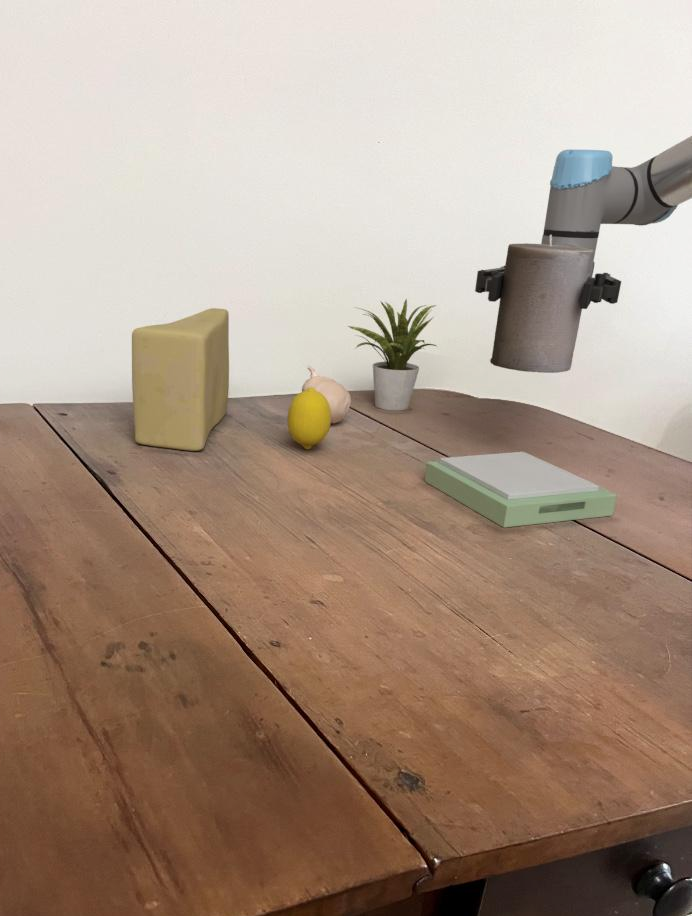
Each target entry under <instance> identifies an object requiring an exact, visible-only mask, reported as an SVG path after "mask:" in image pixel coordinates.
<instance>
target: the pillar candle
mask: <svg viewBox="0 0 692 916" xmlns="http://www.w3.org/2000/svg"><path fill="white" fill-rule="evenodd" d="M551 237H552V235H550V236H549V238H550V243H549V245H547V244H541V243H527V242H525V243H510V244H509V243H508V247H507V253H506V259H505V264H504V266H505V270H504V277H503V284H502V289H501V296H500V299H499V303H498V312H497V318H496V325H495V332H494V339H493V345H492V352H491V358H490V359H489V362H490V364H491V365H493V366H495V367H498V368H502V369H507V370H512V371H519V372H527V373H543V374H545V373H546V374H551V373H552V374H555V373H556V374H557V373H565V372H569V371H570V370H571V368H572V364H573V357H574V351H575V347H576V342H577V338H578V333H579V329H580V321H581V316H582V313H583V309H580V304H581V299H582V293H583V288H584V283H585V282H586V281H587V280H588V275H589V269H590V264H591V259H592V253H593V252H594V251H593V250H590V249H585V248H580V247H571V246H560V245H551V244H552V243H551V241H552V238H551Z"/></svg>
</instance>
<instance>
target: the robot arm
mask: <svg viewBox="0 0 692 916" xmlns="http://www.w3.org/2000/svg"><path fill="white" fill-rule="evenodd" d="M549 185H550V188H549V192H548V193H549V195H548V200H547V205H546V206H547V207H546V212H545V213H546V214H545V220H544V227H543V234H542V237H541V243H540V244H547V245H549V243H550V238H549V236H550V235H552V237H551V238H552V241H551V243H552V244H551V245H560V246H571V247H580V248H585V249H590V250H593V251H594V252H593V253H592V259H591V264H590V269H589V275H588V280H587V281H586V282H585V283H584V288H583V293H582V299H581V304H580V309H582V310H587V309H588V308H589V306H590V305H591V302H592V303H593V304H598V303H601V302H602V301H604V302H606V303H609V304H610V305H611V304H612V305H614V304H616V303H618V301H619V296H620V291H621V286H622V280H620V279H617V278H615V277H613V276H612V275H611V274H610V273H608V272H603V273H595V274H594V270H595V256H596V250H597V245H598V239H599V235H600V229H601V225H633V226H648V225H652V224H659V223H662V222H663V221H665V220H667V219H669V217H671V215H672V214H673V213H674V212H675V211H676V209H677V208H678V206H679V205H681V204H683V203H685V202H687V201H689V200H691V199H692V135H690V136H689V137H686V138H685V139H683V140H682V141H680V142H678V143H676V144H673V145H672V146H671V147H669V148H667V149H665V150H663V151H662V152H660V153H659V154H657V155H655V156H653V157H651V158H650V159H648V160H646V161H644V162H642V163H640V164H637V165H636V166H632V167H629V166H628V167H625V166H614V165H613V154H612V152H611V151H610V150H603V149H563V150H561V151H560V152H558V154H557V155H556V158H555V163H554V166H553V171H552V175H551V179H550V181H549ZM504 270H505V265H503V266H500V267H495V268H488V269H480V270H477V274H476V280H475V289H474V292H475V293H477V294H482V293H488V295H487V300H488V302H495V303H496V302H497V301H499V300H500V296H501V289H502V284H503V277H504ZM593 275H594V277H593Z"/></svg>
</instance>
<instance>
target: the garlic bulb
mask: <svg viewBox="0 0 692 916" xmlns="http://www.w3.org/2000/svg"><path fill="white" fill-rule="evenodd" d="M307 370H308V371H309V372H310V378H308V379H306V380H305V381H304V383H303V384H302V386H301V392H303V391H306V390H307V389H308V388H314V389H315V391H317V392H319V393H321V394H322V395H323V396H324V397H325V398H326V399H327V401H328V403H329V407H330V412H331V423H330V424H337V423H340V422H341V421H342V420H344V418H345V417H346V416H347V414H348V412H349V410H350V408H351V404H352V398H351V395H350V392H349V391H348V390H347V388H346V387H345V386H344V385H343V384H341V383H339V382H338V381H336V380H334V379H333V378H331V377H327V376H321V375H318V374H317V372H316V369H315V368H313V367H312V366H311V365H309V364H308V366H307Z"/></svg>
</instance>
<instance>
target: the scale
mask: <svg viewBox="0 0 692 916" xmlns="http://www.w3.org/2000/svg"><path fill="white" fill-rule="evenodd" d="M424 482H425V483H426V484H428V485H430V486H431V487H434V488H435V489H437V490H438V491H440V492H442V493H443V494H446V496H449V497H450V498H451V499H454V500H456V501H457V502H459V503H461V504H462V505H464V506H466V507H468V508H469V509H471V510H472V511H474V512H476V513H478V514H479V515H481V516H483V517H485V519H488V520H489V521H491V522H492V523H495V524H497V525H498V526H500V527H502V528H513V527H523V526H532V525H533V526H534V525H540V524H549V523H550V524H551V523H558V522H567V521H568V522H569V521H577V520H585V519H594V518H603V517H612V516H613V515H614V511H615V506H616V502H617V497H618V495H617V494H616V493H614V492H611V491H610V490H607V489H605V488H603V487H601V486H600V485H598V484H596V483H594V482H592V481H589V480H587V479H585V478H583V477H581V476H579V475H576V474H574V473H572V472H569V471H567V470H566V469H563V468H560V467H559V466H556V465H553V464H551V463H550V462H548V461H545V460H544V459H543V460H542V459H540V458H539V457H536V456H534V455H532V454H529V453H528V452H525V451H515V452H514V451H513V452H501V453H489V454H476V455H465V456H464V455H463V456H452V457H440V458H439V460H436V461H427V462H426V466H425V476H424Z"/></svg>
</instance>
